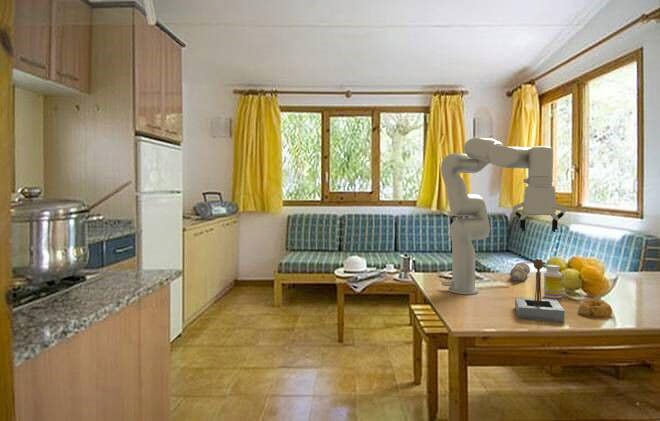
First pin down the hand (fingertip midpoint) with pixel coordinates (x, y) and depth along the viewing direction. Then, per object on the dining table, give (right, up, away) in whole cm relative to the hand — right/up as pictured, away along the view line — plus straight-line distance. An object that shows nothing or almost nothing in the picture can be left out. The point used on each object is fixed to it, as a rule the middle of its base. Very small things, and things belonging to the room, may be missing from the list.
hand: (538, 231), depth 155 cm
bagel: (+20, -30, +1) cm, 36 cm away
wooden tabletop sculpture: (+1, -30, +1) cm, 30 cm away
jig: (0, -30, +1) cm, 30 cm away
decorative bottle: (+19, -27, +64) cm, 72 cm away
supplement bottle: (+18, -28, +27) cm, 43 cm away
